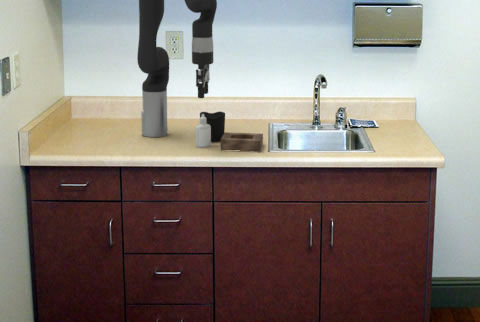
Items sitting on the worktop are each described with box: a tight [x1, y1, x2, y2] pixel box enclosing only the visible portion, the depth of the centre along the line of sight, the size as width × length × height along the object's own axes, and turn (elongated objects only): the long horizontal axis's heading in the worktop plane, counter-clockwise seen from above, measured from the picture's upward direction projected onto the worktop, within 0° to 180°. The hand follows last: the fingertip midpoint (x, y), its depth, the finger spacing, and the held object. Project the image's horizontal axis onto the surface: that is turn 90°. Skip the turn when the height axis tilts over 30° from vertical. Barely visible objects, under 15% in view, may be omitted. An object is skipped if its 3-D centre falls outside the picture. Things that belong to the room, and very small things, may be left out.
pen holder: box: [199, 111, 226, 143], centre depth 289 cm, size 9×9×10 cm
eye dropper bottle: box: [194, 114, 212, 149], centre depth 278 cm, size 4×6×12 cm
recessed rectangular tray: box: [220, 131, 264, 152], centre depth 279 cm, size 14×11×4 cm
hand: (203, 95), depth 275 cm, fingers open, 8 cm apart
